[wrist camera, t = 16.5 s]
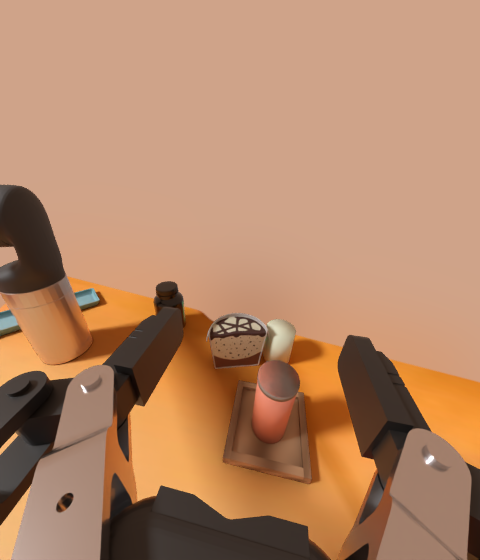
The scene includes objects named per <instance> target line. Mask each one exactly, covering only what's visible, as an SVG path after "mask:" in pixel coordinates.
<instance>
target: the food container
mask: <svg viewBox="0 0 480 560" xmlns="http://www.w3.org/2000/svg"><path fill="white" fill-rule="evenodd" d="M267 335H268V337H269V331H268V329H267V327H266V325H265V324H264V323H263V322H262V321H261V320H259V319H258V318H256V317H254V316H252V315H248V314H243V313H232V314H227V315H225V316H222V317H220V318H218V319H217V320H215V321H214V322H213V324H212V325H211V327H210V329H209V331H208V334H207V339H206V342H207V340H208V337H209V340H210V346H211V351H212V356H213V362H214V367H215V369H220V368H233V367H245V366H258V365H259V362H260V359H261V355H262V352H263V348H264V344H265V341H266V337H267ZM269 338H270V337H269Z"/></svg>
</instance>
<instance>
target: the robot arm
mask: <svg viewBox="0 0 480 560" xmlns="http://www.w3.org/2000/svg"><path fill="white" fill-rule="evenodd" d="M12 246H13V247H14V248H15V250H16V253H17V256H18V259H19V260H17V261H13V262H11V263H8V264H6V265H4V266H2V267H0V295H1V296H2V298H3V299H4V301H5V303H6V304H7V306H8V307H9V309H10V310H11V312H12V314H13V315H14V317H15V318H16V320H17V323H18V325H19V327H20V328H21V330H22V331H23V333H24V335H25V336H26V338H27V339H28V341H29V343H30V344H31V346H32V347H33V349H34V351H35V352H36V354H37V355H38V356H39V357H40V359H41V360H42V362H44V363H45V364H49V365H55V364H61V363H65V362H68V361H70V360H73V359H75V358H77V357H78V356H80V355H81V354H83V353H84V352H85V351H86V350H87V349H88V348H89V347H90V346H91V344H92V341H93V340H92V336H91V334H90V331H89V329H88V326H87V324H86V321H85V319H84V316H83V314H82V312H81V309H80V307H79V304H78V302H77V300H76V297H75V295H74V292H73V290H72V287H71V285H70V283H69V280H68V278H67V276H66V273H65V271H64V269H63V264H62V258H61V254H60V251H59V248H58V245H57V242H56V240H55V237H54V234H53V231H52V227H51V224H50V221H49V219H48V216H47V213H46V211H45V209H44V207H43V205H42V203H41V202H40V200H39V199H38V198H37V196H36V195H35V194H33V193H32V192H31V191H30V190H28V189H27V188H24V187H21V186H16V185H0V247H12ZM182 339H183V324H182V316H181V310H180V309H178V308H171V307H163V308H162V309H161V310H160V311H159V313H158V314H157V315H156V316H155V315H152V316H150V317H148V318H147V319H145V320H144V321H142V322H141V323H140V324H139V325H138V327H137V328H136V329H135V331H133V332H132V333H131V334H130V335H129V337H127V339H126V340H125V341H124V342H123V343H122V344H121V345H120V346H119V347H118V348H117V349H116V351H115V352H114V353H113V354H112V355H111V356H110V357H109V358H108V359H107V360H106V361H105V362H104V363H103V364H102V365H97V366H93V367H90V368H88V369H86V370H84V371H82V372H81V373H79V374H78V375H77V376H76V377H75V378H68V379H59V380H49V378H48V377H47V375H46V374H45V373H44V372H41V371H31V372H27V373H24V374H21V375H19V376H17V377H15V378H13V379H11V380H9V381H8V382H6V383H5V384H3V385H2V386H1V387H0V448H1V447H2V446H3V444H4V443H5V442H6V441H7V440H8V439H9V438H10V437H11V436H12V435H13V434H14V433H15V432H16V433H17V434H18V435H19V436H18V437H17V438H16V439H15V440H14V441H13V442H12V443H11V444H10V445H9V446H8V447H7V449H6V450H5V451H4V452H3V453H2V454H1V455H0V525H1V524H2V523H3V521H4V520H5V519H6V517H7V516H8V515H9V513H10V512H11V511H12V509H13V508H14V507H15V505H16V504H17V503H18V501H19V500H20V499H21V497H22V496H23V495H24V493H25V492H26V491H27V489H28V488H29V487H30V485H31V484H32V485H31V488H30V492H29V496H28V499H27V503H26V507H25V510H24V514H23V518H22V521H21V525H20V529H19V532H18V536H17V540H16V543H15V547H14V551H13V554H12V558H11V560H331V559H330V558H329V557H328V556H327V555H326V553H325V552H324V551H323V550H322V549H320V548H319V547H318V546H317V545H316V544H315V543H314V542H312V541H311V540H309V538H308V526H304V525H301V524H297V523H294V522H290V521H287V520H283V519H279V518H276V517H272V516H260V517H251V518H242V519H233V520H230V519H227V518H225V517H223V516H222V515H221V514H219V513H218V512H217V511H215V510H214V509H213V508H211V507H210V506H209V505H207V504H206V503H205V502H203V501H202V500H201V499H199V498H198V497H197V496H195V495H193V494H190V493H186V492H183V491H179V490H176V489H172V488H168V487H165V486H160V489H159V491H158V494H157V496H152V497H149V498H145V499H142V500H140V501H138V502H137V491H136V482H135V476H134V472H133V465H132V444H131V420H130V411H131V410H132V408H133V406H134V405H135V404H136V405H140V406H145V404H146V403H147V401H148V399H149V397H150V396H151V394H152V392H153V391H154V389H155V387H156V385H157V384H158V382H159V380H160V378H161V377H162V375H163V373H164V372H165V370H166V368H167V366H168V365H169V363H170V361H171V360H172V358H173V356H174V354H175V353H176V351H177V349H178V347H179V346H180V344H181V342H182ZM338 372H339V376H340V380H341V383H342V387H343V391H344V394H345V398H346V401H347V405H348V409H349V412H350V416H351V420H352V423H353V427H354V431H355V434H356V438H357V441H358V445H359V449H360V452H361V456H362V457H366V458H370V459H374V461H375V464H376V467H377V470H376V471H375V473H374V475H373V478H372V481H371V483H370V486H369V488H368V491H367V493H366V496H365V498H364V501H363V504H362V506H361V509H360V511H359V514H358V516H357V519H356V521H355V524H354V526H353V528H352V530H351V532H350V533H349V535H348V537H347V538H346V540H345V542H344V544H343V546H342V548H341V551H340V553H339V555H338V558H337V560H480V469H478V468H476V467H474V466H472V465H470V464H468V463H466V462H465V461H464V460H463V458H462V457H461V456H460V454H459V453H458V452H457V451H456V450H455V449H454V448H453V447H452V446H451V445H450V444H449V443H448V442H446V441H445V440H444V439H442V438H441V437H440V436H438V435H436V434H434V433H432V432H431V430H430V428H429V427H428V425H427V423H426V421H425V420H424V418H423V416H422V414H421V413H420V411H419V409H418V407H417V405H416V404H415V402H414V400H413V398H412V397H411V395H410V393H409V391H408V390H407V388H406V387H405V384H404V382H403V381H402V379H401V377H399V374H398V372H397V370H396V368H395V367H394V365H393V363H392V362H391V361H390V360H389V359H388V358H387V357H386V356H385V355H384V354H383V353H382V352H379V351H376V350H375V348H374V346H373V344H372V343H371V341H370V339H369V338H367V337H360V336H353V335H349V336H348V337H347V339H346V341H345V344H344V346H343V349H342V351H341V354H340V356H339V359H338Z"/></svg>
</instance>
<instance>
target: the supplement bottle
mask: <svg viewBox="0 0 480 560" xmlns="http://www.w3.org/2000/svg"><path fill="white" fill-rule="evenodd" d="M154 307H155V312H156V315H157V314H158V313H159V311H160V310H161V309H162V308H163V307H171V308H178V309H180V310H181V316H182V324H183V328H184V327H185V324H186V318H185V309H184V301H183V296H182V294H181V293H180V292H178V287H177V284H176V283H175V282H171V281H168V282H162V283H160V284H158V285H157V286H156V297H155V298H154Z"/></svg>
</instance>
